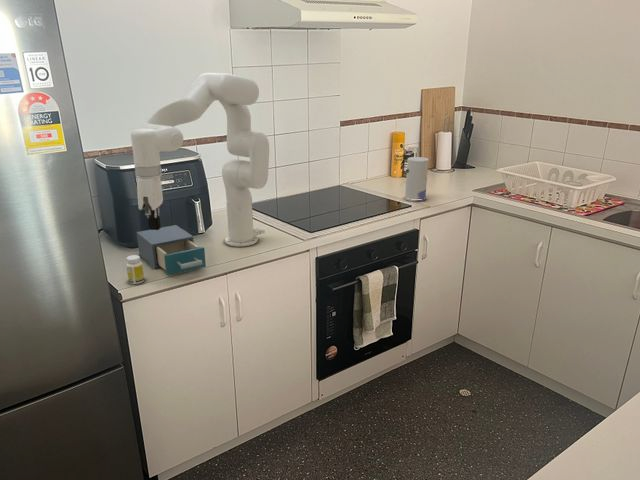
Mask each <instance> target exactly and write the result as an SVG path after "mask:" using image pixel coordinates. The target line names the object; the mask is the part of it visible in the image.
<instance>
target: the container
mask: <svg viewBox="0 0 640 480" xmlns="http://www.w3.org/2000/svg"><path fill="white" fill-rule="evenodd" d="M406 160H407V161H406V162H407V164H406V177H405V190H404V191H405V192H404V195H405V196H404V199H405V200H406V201H409V202H416V203H417V202H424V201H426V198H427V185H428V184H427V183H428V171H429V162H430V161H429V160H430V159H429V158H427V157H422V156H411V157H408V158H407V159H406ZM405 197H406V198H405ZM425 197H426V198H425ZM407 198H409V199H407ZM424 198H425V199H424ZM411 199H422V200H411Z"/></svg>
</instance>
